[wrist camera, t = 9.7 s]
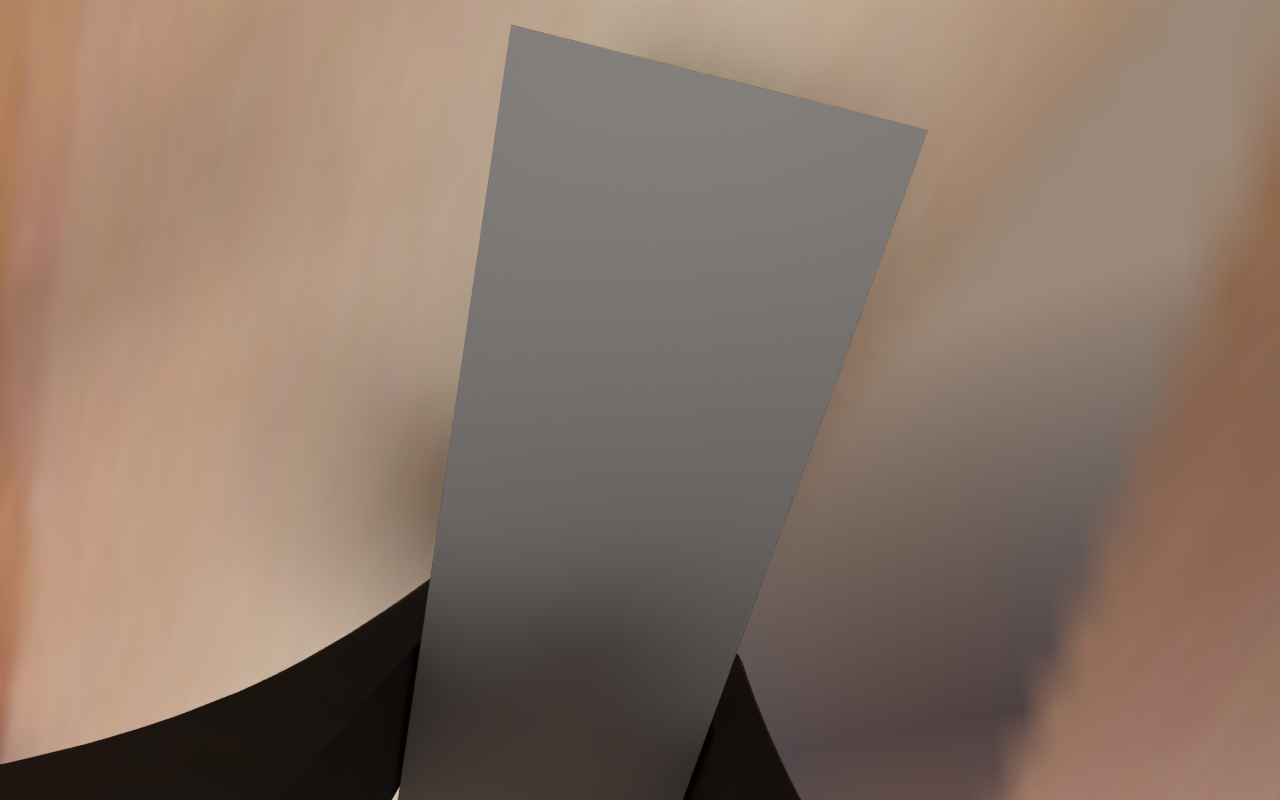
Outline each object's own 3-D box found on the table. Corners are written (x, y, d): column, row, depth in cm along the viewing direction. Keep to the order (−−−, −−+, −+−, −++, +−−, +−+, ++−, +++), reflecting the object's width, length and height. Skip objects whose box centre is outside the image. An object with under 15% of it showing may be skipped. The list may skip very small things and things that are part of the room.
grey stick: (855, 117, 11) (928, 130, 7) (608, 870, 19) (563, 1125, 14) (603, 54, 12) (511, 25, 7) (454, 826, 19) (359, 1064, 14)
